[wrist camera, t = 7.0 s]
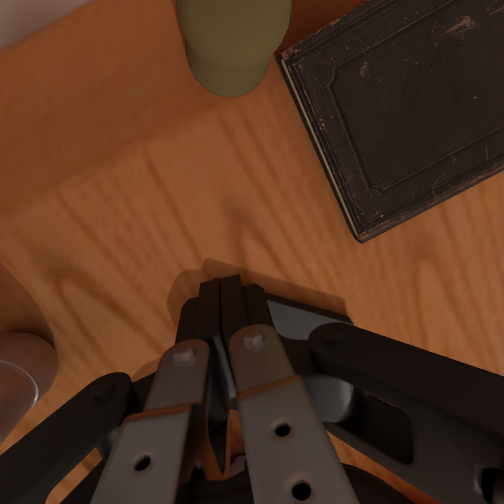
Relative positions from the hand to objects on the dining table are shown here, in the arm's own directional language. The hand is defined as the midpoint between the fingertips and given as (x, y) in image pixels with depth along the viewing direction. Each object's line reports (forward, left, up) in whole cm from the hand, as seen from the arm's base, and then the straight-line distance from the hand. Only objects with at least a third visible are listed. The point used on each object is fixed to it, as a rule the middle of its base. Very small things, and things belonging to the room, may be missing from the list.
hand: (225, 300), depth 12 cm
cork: (-3, +11, -16) cm, 20 cm away
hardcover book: (+14, +15, -16) cm, 26 cm away
